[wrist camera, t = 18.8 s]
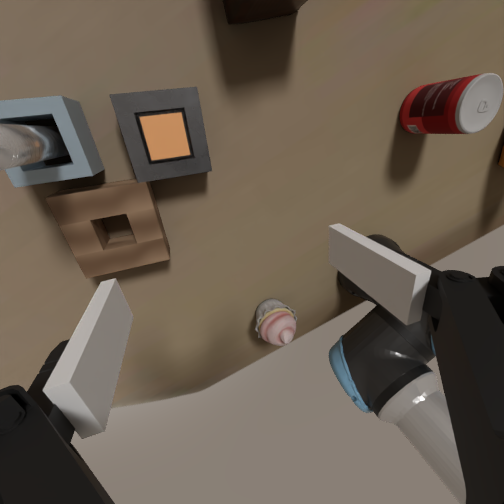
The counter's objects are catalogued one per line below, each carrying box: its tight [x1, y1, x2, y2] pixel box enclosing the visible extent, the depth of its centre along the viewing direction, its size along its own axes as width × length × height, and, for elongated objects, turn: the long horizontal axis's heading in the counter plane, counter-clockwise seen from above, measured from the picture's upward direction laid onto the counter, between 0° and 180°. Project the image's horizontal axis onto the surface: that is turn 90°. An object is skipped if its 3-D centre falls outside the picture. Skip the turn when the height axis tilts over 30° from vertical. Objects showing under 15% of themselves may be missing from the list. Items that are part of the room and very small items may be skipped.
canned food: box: [400, 73, 503, 134], centre depth 40 cm, size 8×8×11 cm
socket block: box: [45, 179, 170, 279], centre depth 36 cm, size 12×12×4 cm
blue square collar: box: [0, 96, 104, 187], centre depth 29 cm, size 8×8×6 cm
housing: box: [110, 87, 212, 183], centre depth 33 cm, size 10×10×4 cm
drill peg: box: [0, 124, 70, 170], centre depth 25 cm, size 4×4×15 cm
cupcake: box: [255, 299, 297, 346], centre depth 51 cm, size 9×9×10 cm
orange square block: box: [140, 112, 190, 160], centre depth 33 cm, size 5×5×4 cm
